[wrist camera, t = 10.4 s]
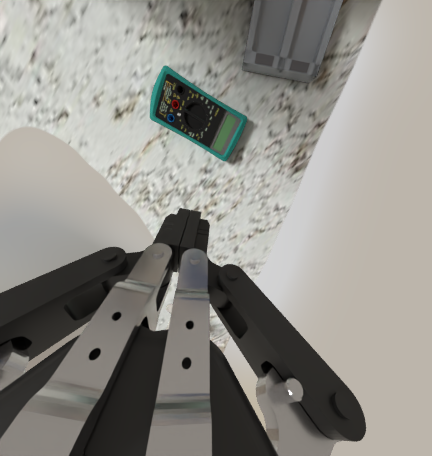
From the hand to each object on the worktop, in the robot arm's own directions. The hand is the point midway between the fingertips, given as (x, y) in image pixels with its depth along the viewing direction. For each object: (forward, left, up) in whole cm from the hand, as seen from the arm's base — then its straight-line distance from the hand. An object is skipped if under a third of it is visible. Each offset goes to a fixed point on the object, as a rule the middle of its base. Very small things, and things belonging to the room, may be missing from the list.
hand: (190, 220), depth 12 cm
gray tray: (-7, +22, -22) cm, 32 cm away
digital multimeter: (-8, +5, -22) cm, 24 cm away
